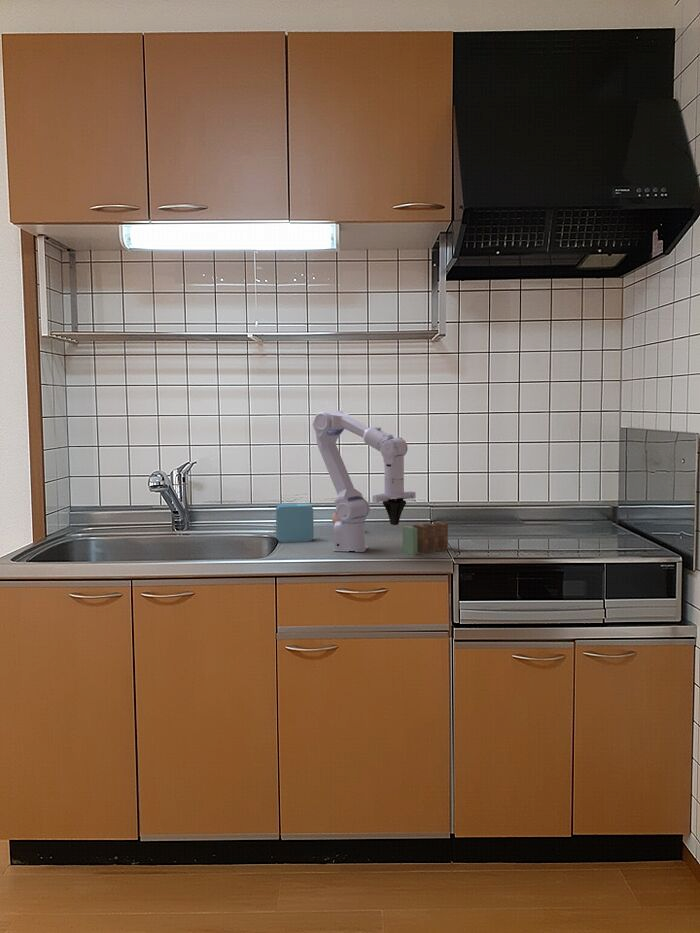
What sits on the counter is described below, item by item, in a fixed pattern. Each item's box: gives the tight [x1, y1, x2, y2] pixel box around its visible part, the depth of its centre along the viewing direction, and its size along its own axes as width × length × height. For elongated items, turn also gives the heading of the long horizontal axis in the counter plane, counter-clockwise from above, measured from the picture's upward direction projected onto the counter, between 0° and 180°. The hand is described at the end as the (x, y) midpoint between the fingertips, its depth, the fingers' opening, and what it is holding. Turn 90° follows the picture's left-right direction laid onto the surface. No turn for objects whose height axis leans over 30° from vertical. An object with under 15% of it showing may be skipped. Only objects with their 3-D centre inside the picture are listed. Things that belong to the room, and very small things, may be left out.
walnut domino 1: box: [412, 524, 429, 554], centre depth 242 cm, size 2×5×8 cm, turn 34°
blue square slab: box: [275, 503, 315, 543], centre depth 262 cm, size 12×4×12 cm, turn 99°
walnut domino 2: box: [422, 522, 439, 553], centre depth 244 cm, size 2×5×8 cm, turn 34°
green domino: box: [402, 525, 418, 556], centre depth 239 cm, size 2×5×8 cm, turn 34°
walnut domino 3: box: [432, 521, 449, 551], centre depth 246 cm, size 2×5×8 cm, turn 34°
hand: (394, 524), depth 236 cm, fingers closed
